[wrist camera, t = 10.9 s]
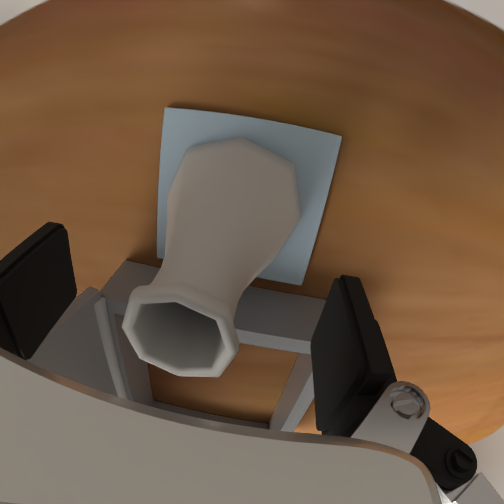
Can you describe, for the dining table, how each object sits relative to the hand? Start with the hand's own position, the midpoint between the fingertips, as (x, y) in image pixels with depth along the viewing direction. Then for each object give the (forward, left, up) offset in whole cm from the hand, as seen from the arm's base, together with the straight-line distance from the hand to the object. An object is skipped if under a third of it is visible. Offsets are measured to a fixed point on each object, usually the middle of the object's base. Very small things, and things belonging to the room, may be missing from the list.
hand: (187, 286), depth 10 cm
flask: (0, 0, -8) cm, 8 cm away
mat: (+1, 0, -8) cm, 8 cm away
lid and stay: (-5, -14, -5) cm, 16 cm away
